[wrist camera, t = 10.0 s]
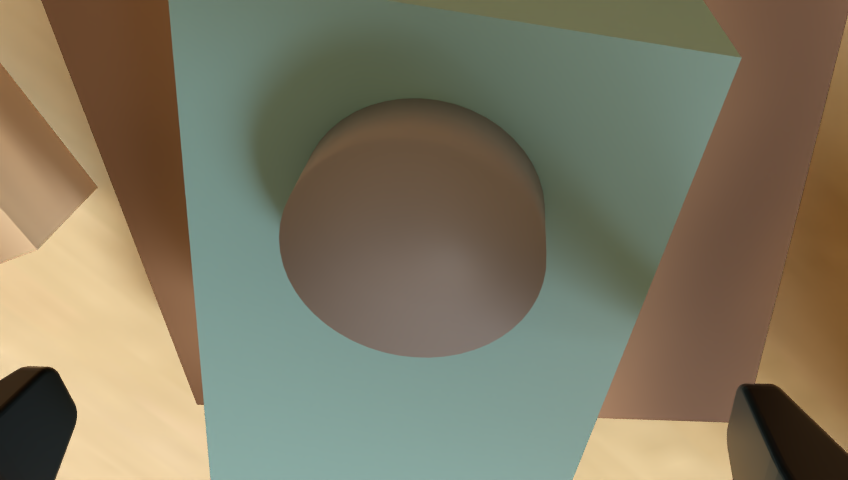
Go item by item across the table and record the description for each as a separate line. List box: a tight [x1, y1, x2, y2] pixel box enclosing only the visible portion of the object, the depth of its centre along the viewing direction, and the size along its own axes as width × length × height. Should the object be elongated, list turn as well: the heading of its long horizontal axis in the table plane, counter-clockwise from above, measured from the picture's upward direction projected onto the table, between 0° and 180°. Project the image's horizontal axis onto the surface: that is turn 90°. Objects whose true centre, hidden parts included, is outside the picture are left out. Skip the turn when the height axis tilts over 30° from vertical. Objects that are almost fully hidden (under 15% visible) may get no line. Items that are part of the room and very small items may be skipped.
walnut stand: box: [41, 0, 848, 422], centre depth 15 cm, size 14×14×2 cm
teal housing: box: [168, 0, 742, 480], centre depth 12 cm, size 10×6×6 cm, turn 173°
